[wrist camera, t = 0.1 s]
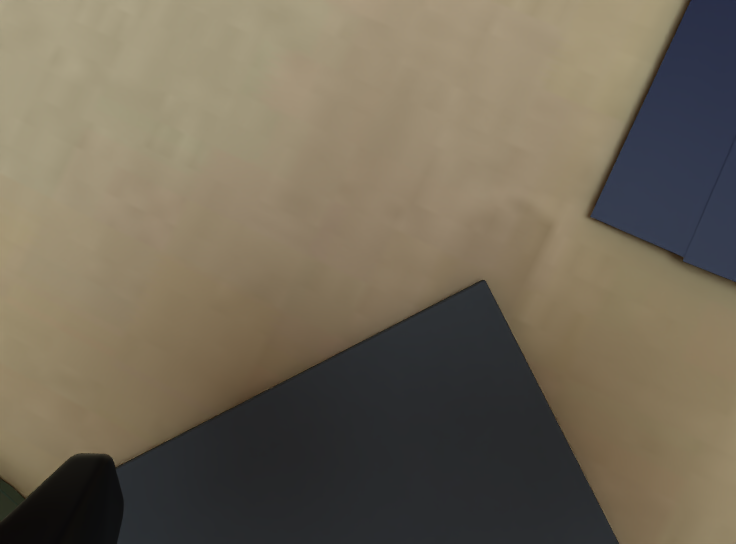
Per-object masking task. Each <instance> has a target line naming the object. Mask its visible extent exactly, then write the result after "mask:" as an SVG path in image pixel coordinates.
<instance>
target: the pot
mask: <svg viewBox="0 0 736 544" xmlns="http://www.w3.org/2000/svg"><path fill="white" fill-rule="evenodd" d="M24 500H25V499H24V498H23V497H22V496H21V495H20V494H19V493H18V492H17V491H16V490H15V489H14V488H13V487H11V486H10V485H9V484H7V483H6V482H4V481H3V480H2V479H0V522H1V521H2V520H3V519H4V518H5V517H6V516H8V515H9V514H10V513H11V512H12V511H13V510H14V509H15V508H16V507H17V506H18V505H19V504H20V503H22V502H23V501H24Z"/></svg>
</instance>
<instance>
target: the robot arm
mask: <svg viewBox="0 0 736 544" xmlns="http://www.w3.org/2000/svg"><path fill="white" fill-rule="evenodd" d="M123 512H124V499H123V494H122V491H121V487H120V483H119V479H118V476H117V472H116V468H115V465H114V462H113V459H112V458H111V457H110V456H109V455H107V454H90V453H81V454H76V455H74V456H72V457H70V458H69V459H68V460H67V461H66V462H65V463H64V464H62V465H61V466H60V467H59V468H58V469H57V470H56V471H55V472H54V473H53V474H52V475H51V476H50V477H48V478H47V479H46V480H45V481H44V482H43V483H42V484H41V485H40V486H39V487H38V488H37V489H36V490H34V491H33V492H32V493H31V494H30V495H29V496H28V497H27V498H26V499H25V500H24V501H23V502H22V503H20V504H19V505H18V506H17V507H16V508H15V509H14V510H13V511H12V512H11V513H10V514H9V515H8V516H6V517H5V518H4V519H3V520H2V521H1V522H0V544H117V542H118V537H119V533H120V528H121V523H122V519H123Z"/></svg>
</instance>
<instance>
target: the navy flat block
mask: <svg viewBox="0 0 736 544" xmlns="http://www.w3.org/2000/svg"><path fill="white" fill-rule="evenodd" d="M590 217H592V218H595V219H597V220H599V221H601V222H604V223H606V224H608V225H611V226H613V227H615V228H618V229H620V230H622V231H624V232H627V233H629V234H631V235H634V236H636V237H638V238H641V239H643V240H645V241H647V242H650V243H652V244H654V245H657V246H659V247H661V248H664V249H666V250H668V251H670V252H673V253H675V254H677V255H680V256H682V257H684V259H683V261H684V262H686V263H689V264H691V265H694V266H696V267H699V268H701V269H704V270H707V271H709V272H712V273H714V274H717V275H719V276H722V277H724V278H727V279H729V280H732V281H734V282H736V0H691V1H690V3H689V6H688V8H687V10H686V12H685V14H684V16H683V19H682V21H681V23H680V25H679V27H678V29H677V31H676V34H675V36H674V38H673V40H672V42H671V44H670V46H669V49H668V51H667V53H666V55H665V57H664V59H663V61H662V64H661V66H660V68H659V70H658V72H657V74H656V77H655V79H654V81H653V83H652V85H651V87H650V89H649V92H648V94H647V96H646V98H645V100H644V102H643V104H642V107H641V109H640V111H639V113H638V115H637V117H636V120H635V122H634V124H633V126H632V128H631V130H630V132H629V135H628V137H627V139H626V141H625V143H624V145H623V147H622V150H621V152H620V154H619V156H618V158H617V160H616V163H615V165H614V167H613V169H612V171H611V173H610V175H609V178H608V180H607V182H606V184H605V186H604V188H603V190H602V193H601V195H600V197H599V199H598V201H597V203H596V206H595V208H594V210H593V212H592V214H591V216H590Z"/></svg>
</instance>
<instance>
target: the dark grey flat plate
mask: <svg viewBox="0 0 736 544" xmlns="http://www.w3.org/2000/svg"><path fill="white" fill-rule="evenodd" d="M116 472H117V476H118V479H119V483H120V487H121V491H122V494H123V499H124V512H123V519H122V523H121V528H120V533H119V537H118V542H117V544H619V543H618V541H617V539H616V537H615V535H614V533H613V531H612V529H611V527H610V525H609V523H608V521H607V519H606V517H605V515H604V513H603V511H602V509H601V507H600V505H599V503H598V501H597V499H596V497H595V495H594V493H593V491H592V489H591V487H590V486H589V484H588V482H587V480H586V478H585V476H584V474H583V472H582V470H581V468H580V466H579V464H578V462H577V460H576V458H575V456H574V454H573V452H572V450H571V448H570V446H569V444H568V442H567V440H566V438H565V436H564V434H563V432H562V430H561V428H560V426H559V425H558V423H557V421H556V419H555V417H554V415H553V413H552V411H551V409H550V407H549V405H548V403H547V401H546V399H545V397H544V395H543V393H542V391H541V389H540V387H539V385H538V383H537V381H536V379H535V377H534V375H533V373H532V371H531V369H530V367H529V365H528V363H527V362H526V360H525V358H524V356H523V354H522V352H521V350H520V348H519V346H518V344H517V342H516V340H515V338H514V336H513V334H512V332H511V330H510V328H509V326H508V324H507V322H506V320H505V318H504V316H503V314H502V312H501V310H500V308H499V306H498V304H497V302H496V301H495V299H494V297H493V295H492V293H491V291H490V289H489V287H488V285H487V283H486V281H485V280H481V281H479V282H477V283H475V284H473V285H471V286H470V287H468V288H466V289H464V290H462V291H460V292H458V293H456V294H454V295H452V296H450V297H448V298H446V299H444V300H442V301H440V302H438V303H436V304H434V305H432V306H430V307H429V308H427V309H425V310H423V311H421V312H419V313H417V314H415V315H413V316H411V317H409V318H407V319H405V320H403V321H401V322H399V323H397V324H395V325H393V326H391V327H389V328H387V329H386V330H384V331H382V332H380V333H378V334H376V335H374V336H372V337H370V338H368V339H366V340H364V341H362V342H360V343H358V344H356V345H354V346H352V347H350V348H348V349H346V350H345V351H343V352H341V353H339V354H337V355H335V356H333V357H331V358H329V359H327V360H325V361H323V362H321V363H319V364H317V365H315V366H313V367H311V368H309V369H307V370H305V371H303V372H302V373H300V374H298V375H296V376H294V377H292V378H290V379H288V380H286V381H284V382H282V383H280V384H278V385H276V386H274V387H272V388H270V389H268V390H266V391H264V392H262V393H261V394H259V395H257V396H255V397H253V398H251V399H249V400H247V401H245V402H243V403H241V404H239V405H237V406H235V407H233V408H231V409H229V410H227V411H225V412H223V413H221V414H220V415H218V416H216V417H214V418H212V419H210V420H208V421H206V422H204V423H202V424H200V425H198V426H196V427H194V428H192V429H190V430H188V431H186V432H184V433H182V434H180V435H178V436H177V437H175V438H173V439H171V440H169V441H167V442H165V443H163V444H161V445H159V446H157V447H155V448H153V449H151V450H149V451H147V452H145V453H143V454H141V455H139V456H137V457H136V458H134V459H132V460H130V461H128V462H126V463H124V464H122V465H120V466H118V467H116Z"/></svg>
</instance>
